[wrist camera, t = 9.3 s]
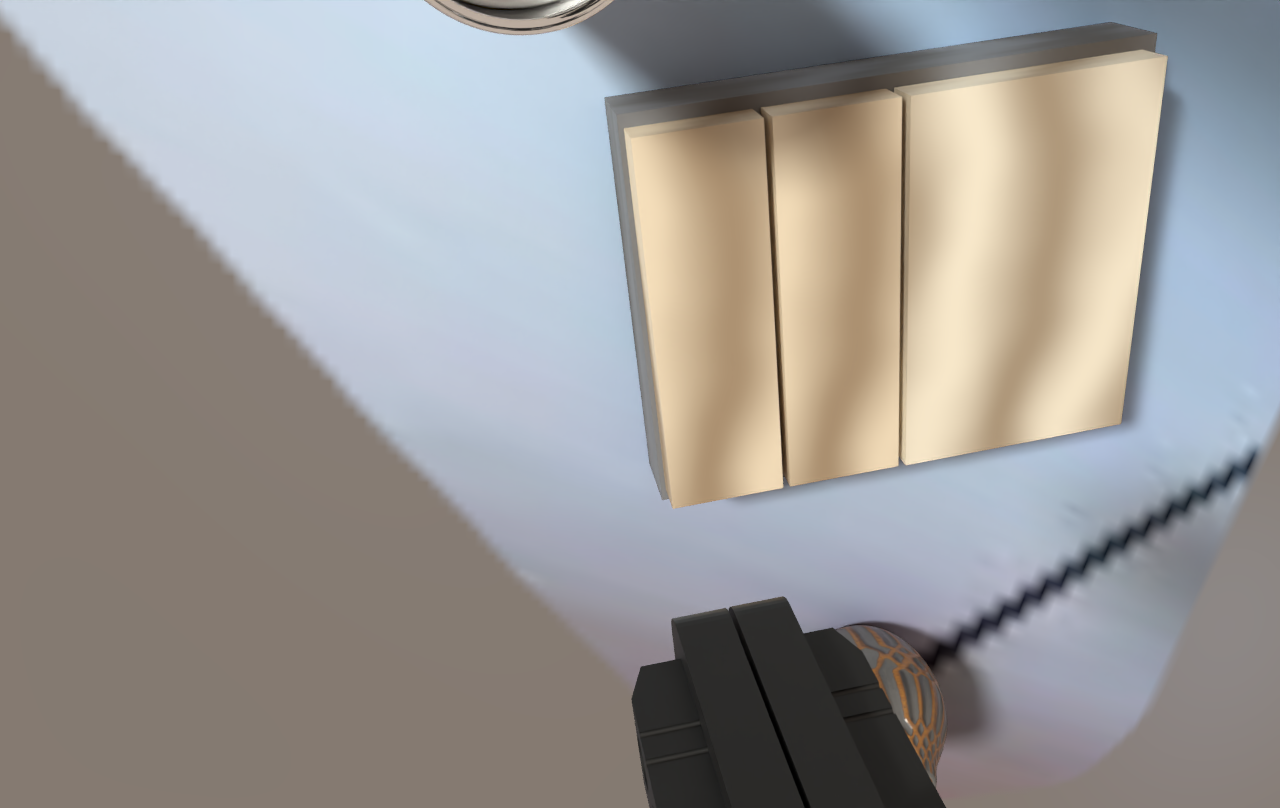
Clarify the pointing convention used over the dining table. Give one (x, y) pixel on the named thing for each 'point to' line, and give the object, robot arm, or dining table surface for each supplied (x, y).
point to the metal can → (519, 14)
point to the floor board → (781, 260)
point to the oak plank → (1022, 250)
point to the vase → (906, 689)
